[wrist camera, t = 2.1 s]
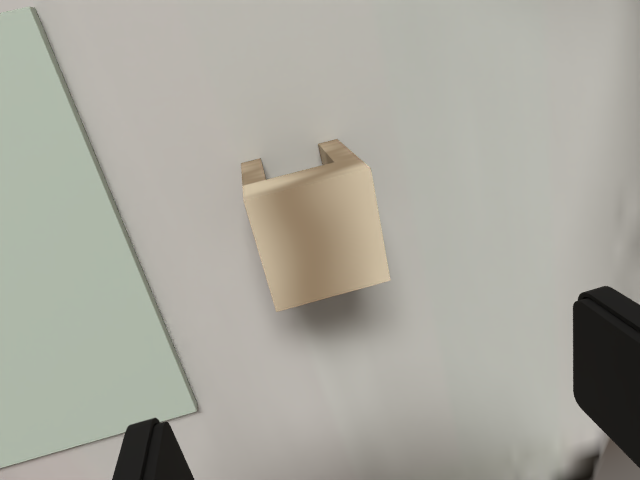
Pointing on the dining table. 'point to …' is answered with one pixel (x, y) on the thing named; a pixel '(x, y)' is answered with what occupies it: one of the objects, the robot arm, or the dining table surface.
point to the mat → (67, 275)
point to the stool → (316, 227)
